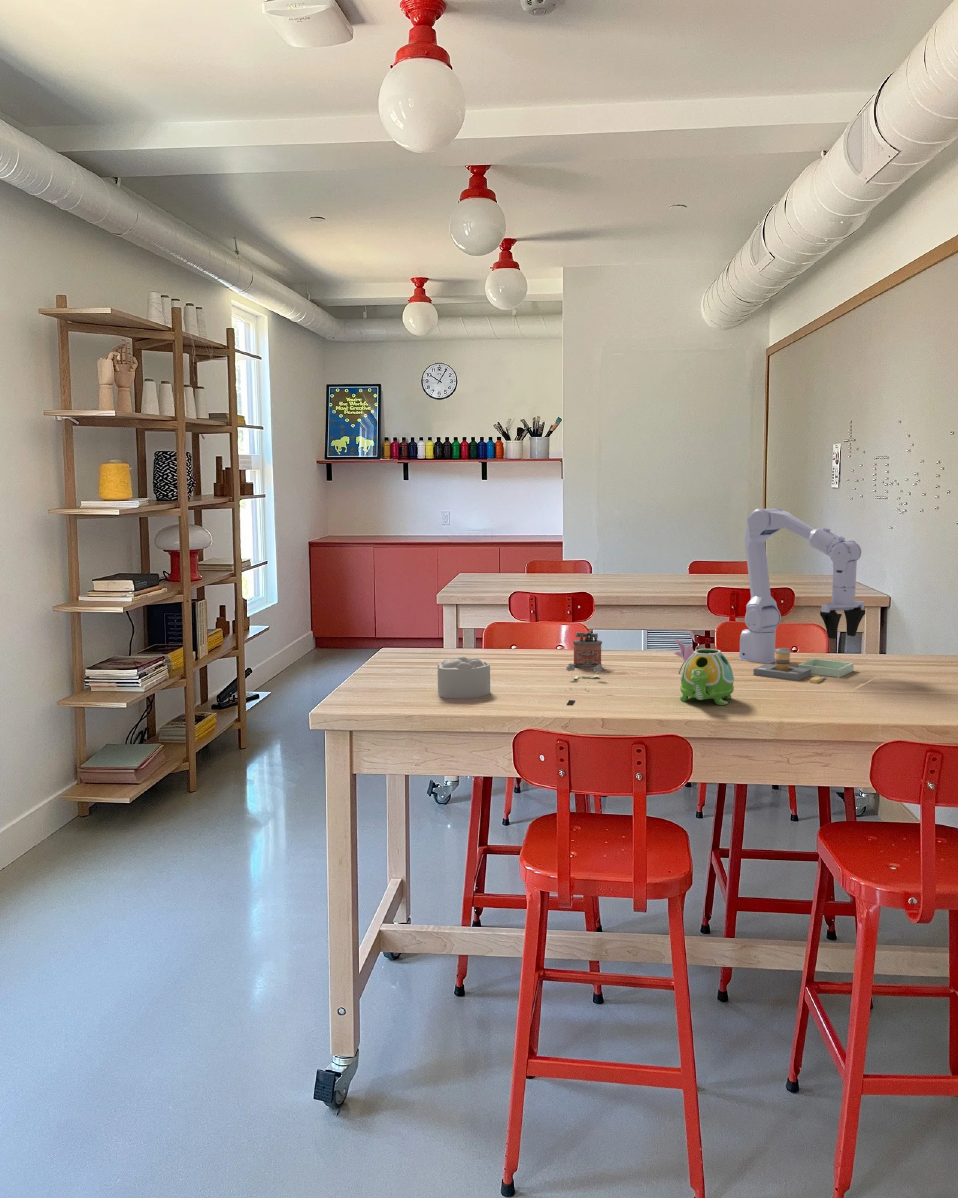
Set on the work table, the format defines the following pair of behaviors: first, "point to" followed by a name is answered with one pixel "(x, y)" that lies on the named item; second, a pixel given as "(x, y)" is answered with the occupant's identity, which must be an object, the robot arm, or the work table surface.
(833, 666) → the parts tray
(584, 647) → the lighter
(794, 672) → the fuse block
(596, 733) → the work table surface
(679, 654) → the lily
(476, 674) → the lumpy-topped squat cylinder
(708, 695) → the turtle holder
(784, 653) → the fuse
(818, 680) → the puller tool
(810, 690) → the work table surface
